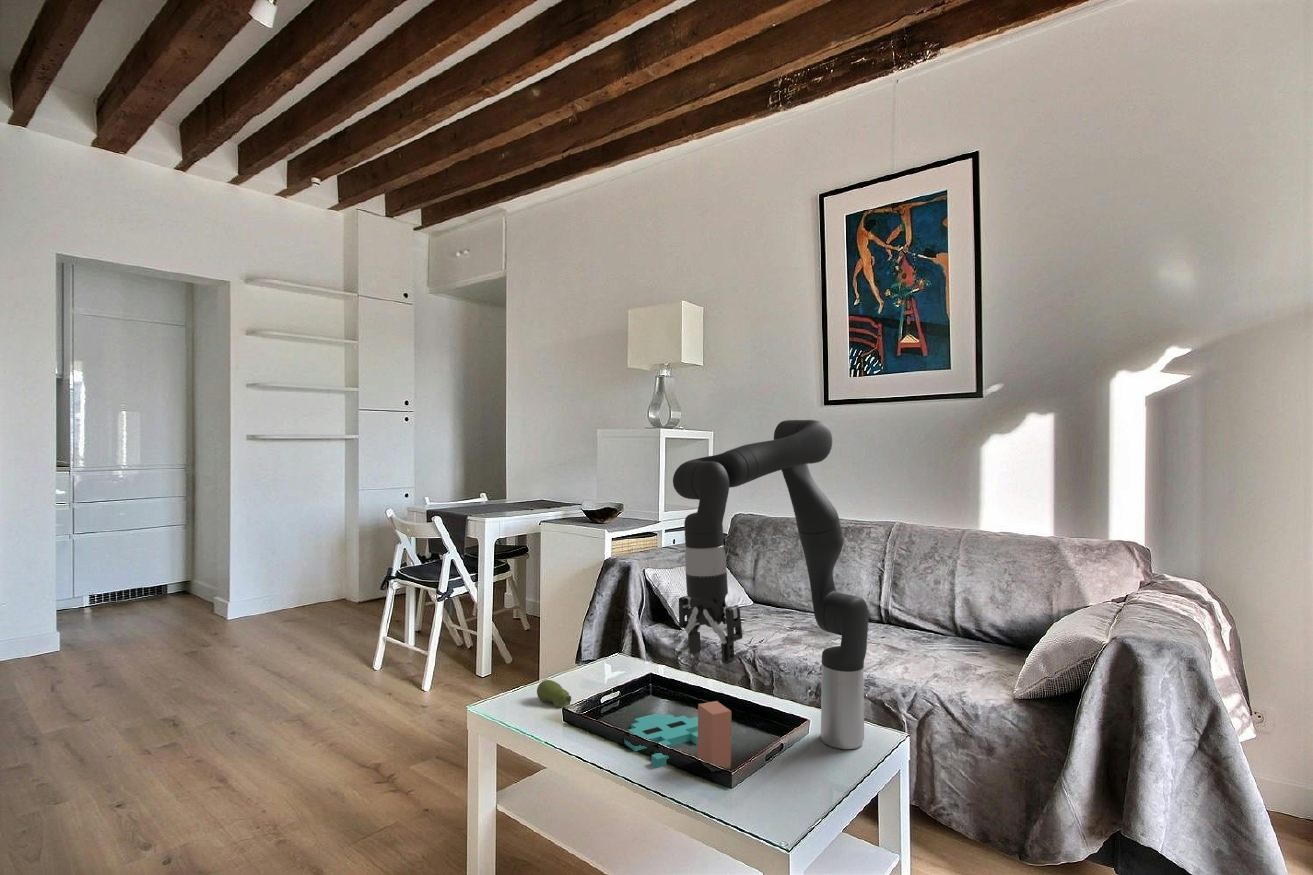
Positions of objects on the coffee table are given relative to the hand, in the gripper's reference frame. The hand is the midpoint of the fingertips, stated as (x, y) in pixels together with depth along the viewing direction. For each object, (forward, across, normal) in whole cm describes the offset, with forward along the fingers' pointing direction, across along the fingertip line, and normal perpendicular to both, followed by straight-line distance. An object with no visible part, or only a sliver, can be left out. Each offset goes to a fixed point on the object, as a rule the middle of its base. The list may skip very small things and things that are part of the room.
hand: (711, 657), depth 128 cm
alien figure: (+29, +28, -12) cm, 42 cm away
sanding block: (+28, +13, -11) cm, 33 cm away
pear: (+26, +62, -2) cm, 68 cm away
